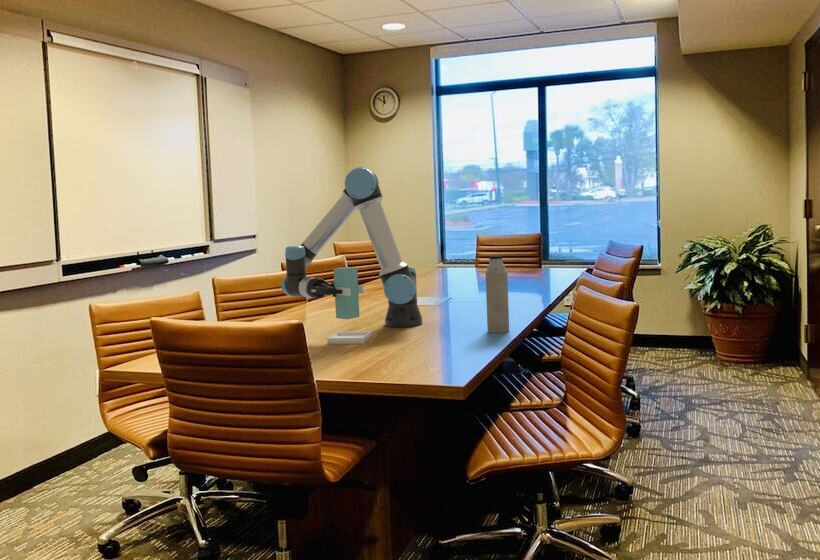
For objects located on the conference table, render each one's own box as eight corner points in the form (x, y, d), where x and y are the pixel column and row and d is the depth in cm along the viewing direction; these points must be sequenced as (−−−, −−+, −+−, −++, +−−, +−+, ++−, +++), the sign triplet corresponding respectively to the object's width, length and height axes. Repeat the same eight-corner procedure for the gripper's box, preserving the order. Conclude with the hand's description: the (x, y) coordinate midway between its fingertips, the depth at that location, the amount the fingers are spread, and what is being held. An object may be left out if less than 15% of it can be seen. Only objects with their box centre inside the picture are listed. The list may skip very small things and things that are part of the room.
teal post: (336, 318, 270) (333, 268, 268) (348, 315, 274) (345, 267, 272) (347, 319, 266) (345, 269, 264) (359, 316, 270) (357, 267, 268)
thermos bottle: (491, 328, 281) (489, 255, 278) (512, 329, 277) (509, 254, 274) (484, 332, 274) (481, 256, 271) (505, 333, 270) (502, 256, 267)
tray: (371, 336, 276) (371, 331, 276) (363, 343, 263) (363, 338, 263) (337, 337, 278) (337, 331, 278) (327, 344, 265) (327, 338, 265)
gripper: (332, 294, 288) (375, 298, 273) (294, 300, 274) (337, 304, 259) (331, 275, 287) (374, 277, 272) (293, 280, 273) (336, 283, 258)
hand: (356, 290), depth 265 cm, fingers closed on teal post, 6 cm apart
